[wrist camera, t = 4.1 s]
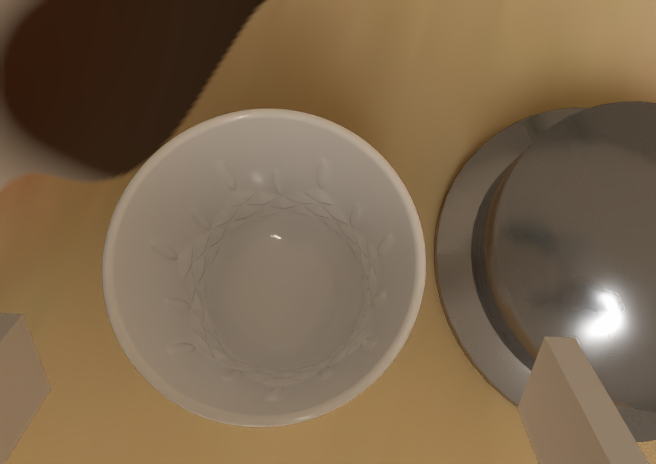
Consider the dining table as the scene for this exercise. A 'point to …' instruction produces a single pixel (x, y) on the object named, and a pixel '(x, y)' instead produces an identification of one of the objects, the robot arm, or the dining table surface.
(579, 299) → the grey round shallow piece
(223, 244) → the white cup
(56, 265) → the dining table surface
